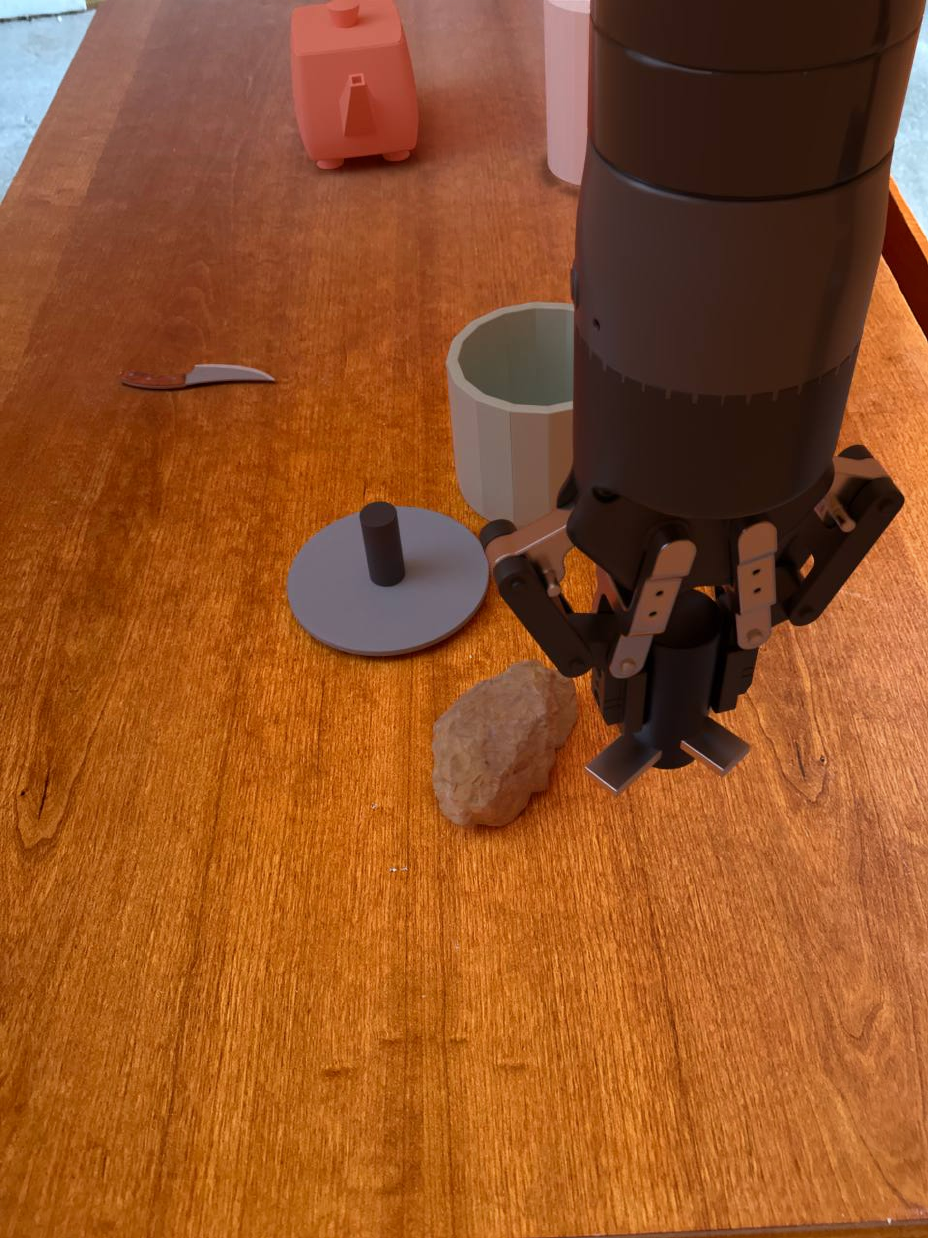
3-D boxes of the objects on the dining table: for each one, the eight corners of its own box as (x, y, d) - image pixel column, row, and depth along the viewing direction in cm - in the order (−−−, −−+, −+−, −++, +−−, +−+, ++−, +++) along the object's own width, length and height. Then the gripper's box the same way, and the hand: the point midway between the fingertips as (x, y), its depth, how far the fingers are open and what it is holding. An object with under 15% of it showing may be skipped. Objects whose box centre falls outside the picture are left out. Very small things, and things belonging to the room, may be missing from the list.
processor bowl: (599, 407, 89) (603, 288, 81) (653, 512, 80) (663, 390, 73) (441, 438, 87) (430, 320, 80) (480, 548, 79) (471, 428, 71)
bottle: (656, 130, 120) (674, -148, 101) (668, 185, 112) (689, -106, 93) (543, 136, 120) (540, -140, 102) (546, 191, 112) (544, -97, 94)
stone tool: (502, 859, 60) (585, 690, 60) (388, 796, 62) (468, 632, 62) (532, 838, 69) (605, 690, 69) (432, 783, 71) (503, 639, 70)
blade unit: (663, 641, 47) (676, 517, 42) (792, 727, 44) (824, 604, 39) (537, 749, 44) (534, 629, 39) (665, 850, 41) (681, 734, 36)
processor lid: (464, 501, 82) (458, 428, 78) (512, 637, 73) (508, 564, 69) (278, 539, 81) (260, 467, 76) (303, 682, 72) (285, 611, 67)
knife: (278, 357, 95) (274, 378, 93) (280, 363, 95) (275, 385, 93) (121, 364, 95) (113, 385, 93) (123, 370, 96) (115, 391, 94)
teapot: (431, 187, 114) (418, 39, 104) (305, 202, 114) (280, 55, 103) (411, 95, 129) (398, -43, 119) (299, 108, 129) (276, -29, 118)
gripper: (494, 438, 27) (514, 833, 39) (1044, 326, 28) (892, 741, 41) (425, 273, 32) (463, 672, 44) (896, 187, 33) (801, 595, 46)
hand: (669, 703), depth 43 cm, fingers closed on blade unit, 3 cm apart
